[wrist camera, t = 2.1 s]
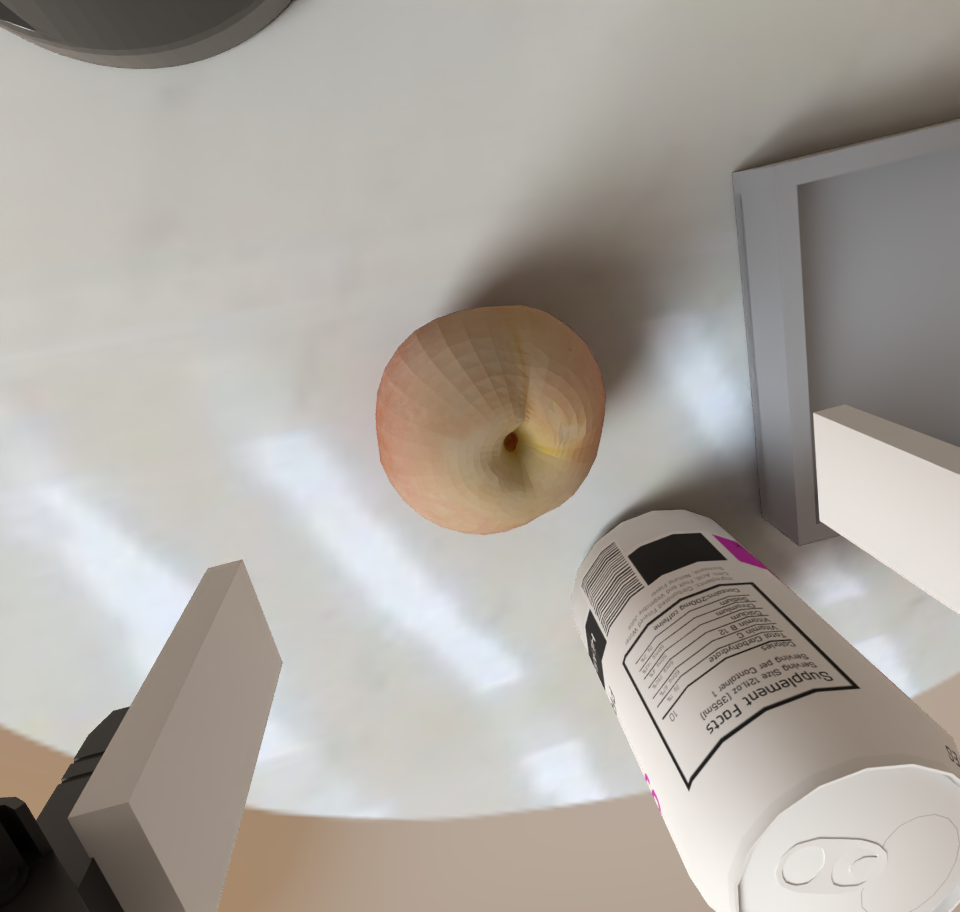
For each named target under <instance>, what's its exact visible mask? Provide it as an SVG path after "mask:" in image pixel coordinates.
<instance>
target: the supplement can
mask: <svg viewBox="0 0 960 912" xmlns="http://www.w3.org/2000/svg"><path fill="white" fill-rule="evenodd" d="M571 600H572V607H573V614H574V621H575V625H576V627H577V630H578V632H579V634H580V636H581V638H582V641H583V643H584V645H585V647H586V649H587V652H588V654H589V656H590V658H591V660H592V663H593V665H594V667H595V669H596V671H597V674H598V676H599V678H600V680H601V682H602V685H603V687H604V689H605V691H606V693H607V696H608V698H609V700H610V702H611V704H612V707H613V709H614V711H615V713H616V715H617V718H618V720H619V722H620V724H621V726H622V729H623V731H624V733H625V735H626V737H627V740H628V742H629V744H630V746H631V748H632V751H633V753H634V755H635V757H636V759H637V762H638V764H639V766H640V768H641V770H642V773H643V775H644V777H645V779H646V781H647V784H648V786H649V788H650V790H651V792H652V795H653V797H654V799H655V801H656V803H657V806H658V807H659V810H660V812H661V814H662V817H663V819H664V821H665V823H666V825H667V828H668V829H669V832H670V834H671V836H672V838H673V841H674V843H675V845H676V847H677V850H678V852H679V854H680V856H681V858H682V861H683V863H684V865H685V867H686V869H687V871H688V874H689V876H690V877H691V879H692V881H693V882H694V884H695V885H696V887H697V888H698V890H699V891H700V893H701V894H702V896H703V898H704V899H705V901H706V902H707V904H708V905H709V906H710V907H711V908H713V909H714V910H715V911H716V912H951V911H952V910H953V909H954V908H955V907H956V906H957V905H958V904H959V903H960V755H959V752H958V750H957V747H956V745H955V742H954V739H953V737H952V736H950V735H949V734H948V733H947V732H946V731H945V730H944V729H943V728H942V727H941V726H939V724H937V723H936V722H935V721H934V720H933V719H932V718H931V717H930V716H929V715H928V714H927V713H925V712H924V711H923V710H922V709H921V708H920V707H919V706H918V705H917V704H916V703H914V702H913V701H912V700H911V699H910V698H909V697H908V696H907V695H906V694H905V693H903V692H902V691H901V690H900V689H899V688H898V687H897V686H896V685H895V684H894V683H893V682H891V681H890V680H889V679H888V678H887V677H886V676H885V675H884V674H883V673H882V672H880V671H879V670H878V669H877V668H876V667H875V666H874V665H873V664H872V663H871V662H869V661H868V660H867V659H866V658H865V657H864V656H863V655H862V654H861V653H860V652H859V651H857V650H856V649H855V648H854V647H853V646H852V645H851V644H850V643H849V642H848V641H846V640H845V639H844V638H843V637H842V636H841V635H840V634H839V633H838V632H837V631H836V630H834V629H833V628H832V627H831V626H830V625H829V624H828V623H827V622H826V621H825V620H823V619H822V618H821V617H820V616H819V615H818V614H817V613H816V612H815V611H814V610H812V609H811V608H810V607H809V606H808V605H807V604H806V603H805V602H804V601H803V600H802V599H800V598H799V597H798V596H797V595H796V594H795V593H794V592H793V591H792V590H791V589H789V588H788V587H787V586H786V585H785V584H784V583H783V582H782V581H781V580H780V579H778V578H777V577H776V576H775V575H774V574H773V573H772V572H771V571H770V570H769V569H768V568H766V567H765V566H764V565H763V564H762V563H761V562H760V561H759V560H758V559H757V558H755V557H754V556H753V555H752V554H751V553H750V552H749V551H748V550H747V549H746V548H744V547H743V546H742V545H741V544H740V543H739V542H738V541H737V540H736V539H735V538H734V537H732V536H731V535H730V534H729V533H728V532H727V531H725V530H724V529H723V528H722V527H721V526H720V525H718V524H717V523H716V522H715V521H714V520H712V519H711V518H708V517H705V516H702V515H699V514H696V513H693V512H689V511H686V510H661V511H650V512H648V513H645V514H642V515H640V516H637V517H634V518H632V519H629V520H627V521H624V522H621V523H620V524H619V525H617V526H616V527H615V528H614V529H612V530H611V531H610V532H609V533H607V534H606V535H605V536H603V537H602V538H601V539H600V540H598V541H597V542H596V543H595V544H594V546H593V547H592V549H591V550H590V552H589V553H588V555H587V556H586V558H585V559H584V561H583V562H582V564H581V565H580V567H579V568H578V571H577V575H576V579H575V584H574V588H573V592H572V596H571Z"/></svg>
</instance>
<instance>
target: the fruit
mask: <svg viewBox="0 0 960 912" xmlns="http://www.w3.org/2000/svg"><path fill="white" fill-rule="evenodd" d="M605 398H606V394H605V390H604V385H603V381H602V377H601V372H600V368H599V366H598V364H597V362H596V361H595V359H594V357H593V355H592V353H591V351H590V349H589V348H588V346H587V344H586V343H585V342H584V341H583V340H582V339H581V338H580V337H579V336H578V335H577V334H576V333H575V332H574V331H573V330H572V329H571V328H570V327H568V326H567V325H565V324H564V323H562V322H561V321H560V320H558V319H557V318H555V317H554V316H552V315H551V314H549V313H547V312H545V311H541V310H538V309H535V308H532V307H528V306H525V305H511V306H492V307H479V308H474V309H469V310H464V311H458V312H455V313H452V314H449V315H446V316H443V317H440V318H437V319H435V320H433V321H431V322H430V323H428V324H426V325H424V326H423V327H421V328H419V329H417V330H416V331H414V332H413V333H412V334H411V335H410V336H409V337H408V338H407V339H406V340H405V341H404V342H403V343H402V344H401V345H400V346H399V347H398V349H397V351H396V352H395V354H394V355H393V357H392V358H391V360H390V361H389V363H388V365H387V366H386V368H385V370H384V373H383V377H382V380H381V383H380V386H379V389H378V393H377V405H376V429H377V439H378V445H379V453H380V461H381V464H382V466H383V468H384V470H385V472H386V474H387V477H388V479H389V481H390V482H391V484H392V485H393V487H394V488H395V489H396V491H397V492H398V493H399V495H400V496H401V498H402V499H403V500H404V501H405V502H406V503H407V504H408V505H409V506H410V507H411V508H413V509H414V510H415V511H416V512H417V513H418V514H419V515H421V516H422V517H424V518H426V519H427V520H429V521H431V522H433V523H435V524H437V525H439V526H440V527H443V528H447V529H451V530H455V531H458V532H462V533H470V534H481V535H487V534H493V533H500V532H506V531H508V530H511V529H513V528H516V527H519V526H522V525H525V524H527V523H529V522H530V521H532V520H534V519H536V518H537V517H539V516H541V515H543V514H545V513H547V512H549V511H551V510H553V509H555V508H557V507H559V506H560V505H561V504H563V503H564V502H565V501H566V500H568V499H569V498H570V497H571V496H573V495H574V494H575V492H576V491H577V489H578V488H579V487H580V485H581V484H582V482H583V481H584V479H585V478H586V477H587V475H588V473H589V471H590V469H591V467H592V465H593V463H594V461H595V459H596V456H597V451H598V447H599V442H600V438H601V433H602V427H603V421H604V415H605Z"/></svg>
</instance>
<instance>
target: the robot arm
mask: <svg viewBox="0 0 960 912" xmlns="http://www.w3.org/2000/svg"><path fill="white" fill-rule="evenodd" d="M291 1H292V0H0V27H2V28H4V29H6V30H8V31H10V32H11V33H13V34H15V35H17V36H19V37H21V38H23V39H25V40H27V41H29V42H31V43H34V44H36V45H38V46H40V47H42V48H45V49H47V50H50V51H53V52H55V53H58V54H60V55H63V56H67V57H70V58H73V59H77V60H80V61H84V62H88V63H93V64H97V65H103V66H110V67H117V68H130V69H155V68H165V67H173V66H179V65H184V64H189V63H193V62H196V61H200V60H204V59H206V58H209V57H212V56H214V55H217V54H220V53H222V52H224V51H226V50H228V49H230V48H232V47H235V46H236V45H238V44H240V43H241V42H243V41H245V40H247V39H248V38H250V37H251V36H253V35H254V34H255V33H257V32H258V31H260V30H261V29H262V28H264V27H265V26H266V25H267V24H268V23H270V22H271V21H272V20H273V19H274V18H275V17H277V16H278V15H279V14H280V13H281V12H282V10H283V9H284V8H285V7H286V6H287V5H288V4H289V3H290V2H291ZM813 419H814V436H815V452H816V469H817V486H818V502H819V519H820V521H821V522H822V523H824V524H825V525H827V526H828V527H830V528H831V529H833V530H834V531H836V532H837V533H839V534H840V535H842V536H843V537H845V538H846V539H848V540H849V541H851V542H852V543H853V544H855V545H856V546H858V547H859V548H861V549H862V550H864V551H865V552H867V553H868V554H870V555H871V556H873V557H874V558H876V559H877V560H879V561H880V562H882V563H883V564H885V565H886V566H888V567H889V568H891V569H892V570H894V571H895V572H897V573H898V574H900V575H901V576H903V577H904V578H906V579H907V580H908V581H910V582H911V583H913V584H914V585H916V586H917V587H919V588H920V589H922V590H923V591H925V592H926V593H928V594H929V595H931V596H932V597H934V598H935V599H937V600H938V601H940V602H941V603H943V604H944V605H946V606H947V607H949V608H950V609H952V610H953V611H955V612H956V613H958V614H959V615H960V447H957V446H955V445H952V444H949V443H947V442H944V441H941V440H939V439H936V438H933V437H931V436H928V435H925V434H923V433H920V432H917V431H915V430H912V429H909V428H907V427H904V426H901V425H899V424H896V423H893V422H891V421H888V420H886V419H883V418H880V417H878V416H875V415H872V414H870V413H867V412H864V411H862V410H859V409H856V408H854V407H851V406H848V405H846V404H844V405H841V406H837V407H833V408H829V409H825V410H821V411H817V412H813ZM281 667H282V660H281V657H280V655H279V652H278V650H277V647H276V645H275V642H274V639H273V637H272V634H271V632H270V629H269V627H268V624H267V621H266V619H265V616H264V614H263V611H262V609H261V606H260V603H259V601H258V598H257V596H256V593H255V590H254V588H253V585H252V583H251V580H250V578H249V575H248V572H247V570H246V567H245V565H244V562H243V560H238V561H235V562H231V563H227V564H223V565H219V566H215V567H211V568H208V569H207V571H206V573H205V574H204V576H203V578H202V580H201V581H200V583H199V585H198V587H197V589H196V590H195V592H194V594H193V596H192V597H191V599H190V601H189V603H188V605H187V606H186V608H185V610H184V612H183V614H182V615H181V617H180V619H179V621H178V622H177V624H176V626H175V628H174V630H173V631H172V633H171V635H170V637H169V638H168V640H167V642H166V644H165V646H164V647H163V649H162V651H161V653H160V654H159V656H158V658H157V660H156V662H155V663H154V665H153V667H152V669H151V670H150V672H149V674H148V676H147V678H146V679H145V681H144V683H143V685H142V686H141V688H140V690H139V692H138V694H137V695H136V697H135V699H134V701H133V702H132V704H131V706H130V707H126V708H123V709H119V710H115V711H113V712H112V713H111V714H110V715H109V716H108V717H107V718H105V719H104V720H103V721H102V722H101V723H100V724H99V725H98V726H97V727H96V728H95V729H94V730H93V731H92V732H91V733H90V734H89V735H88V737H87V738H86V740H85V742H84V743H83V745H82V747H81V748H80V750H79V751H78V753H77V755H76V756H75V758H74V763H73V764H71V765H70V766H69V768H68V769H67V771H66V773H65V774H64V776H63V778H62V779H61V780H62V784H59V785H58V786H57V787H56V789H55V791H54V792H53V794H52V795H51V797H50V799H49V800H48V802H47V804H46V805H45V807H44V808H43V810H42V812H41V813H40V815H39V817H38V818H37V820H35V818H34V817H33V815H32V813H31V812H30V810H29V808H28V807H27V805H26V803H25V802H23V801H22V800H20V799H18V798H17V797H8V798H7V797H6V798H0V912H217V909H218V905H219V902H220V898H221V894H222V891H223V887H224V883H225V879H226V875H227V871H228V868H229V864H230V860H231V856H232V852H233V849H234V845H235V841H236V837H237V834H238V830H239V825H240V822H241V818H242V815H243V811H244V807H245V803H246V799H247V796H248V792H249V788H250V784H251V781H252V777H253V773H254V769H255V765H256V762H257V758H258V754H259V750H260V746H261V743H262V739H263V735H264V731H265V727H266V724H267V720H268V716H269V712H270V708H271V705H272V701H273V697H274V693H275V689H276V686H277V682H278V678H279V674H280V671H281Z"/></svg>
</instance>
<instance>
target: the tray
mask: <svg viewBox="0 0 960 912" xmlns="http://www.w3.org/2000/svg"><path fill="white" fill-rule="evenodd" d="M732 177H733V189H734V200H735V211H736V223H737V234H738V246H739V257H740V269H741V280H742V292H743V303H744V314H745V326H746V337H747V349H748V360H749V372H750V383H751V395H752V406H753V417H754V429H755V440H756V452H757V463H758V475H759V486H760V498H761V509H762V517H763V518H764V519H765V520H766V521H768V522H769V523H770V524H772V525H773V526H774V527H775V528H777V529H778V530H779V531H781V532H782V533H783V534H784V535H786V536H787V537H788V538H789V539H791V540H792V541H793V542H795V543H796V544H797V545H798V546H801V545H805V544H809V543H812V542H816V541H820V540H824V539H827V538H831V537H835V536H839V535H840V534H839V533H837V532H836V531H834V530H833V529H831V528H830V527H828V526H827V525H825V524H824V523H822V522H821V521H820V519H819V502H818V486H817V469H816V452H815V436H814V419H813V412H817V411H821V410H825V409H829V408H833V407H837V406H841V405H844V404H846V405H848V406H851V407H854V408H856V409H859V410H862V411H864V412H867V413H870V414H872V415H875V416H878V417H880V418H883V419H886V420H888V421H891V422H893V423H896V424H899V425H901V426H904V427H907V428H909V429H912V430H915V431H917V432H920V433H923V434H925V435H928V436H931V437H933V438H936V439H939V440H941V441H944V442H947V443H949V444H952V445H955V446H957V447H960V118H959V119H954V120H950V121H946V122H942V123H938V124H934V125H929V126H925V127H921V128H917V129H913V130H909V131H904V132H900V133H896V134H892V135H888V136H884V137H880V138H875V139H871V140H867V141H863V142H859V143H855V144H850V145H846V146H842V147H838V148H834V149H830V150H825V151H821V152H817V153H813V154H809V155H805V156H801V157H796V158H792V159H788V160H784V161H780V162H776V163H771V164H767V165H763V166H759V167H755V168H751V169H746V170H742V171H738V172H734V173H732Z"/></svg>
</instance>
